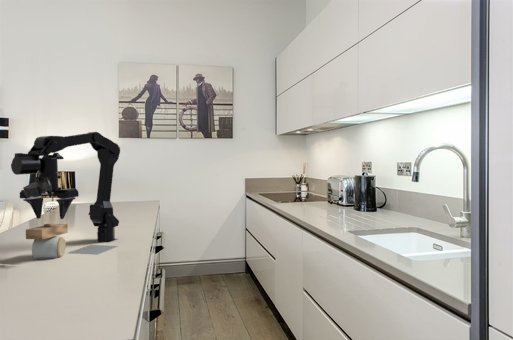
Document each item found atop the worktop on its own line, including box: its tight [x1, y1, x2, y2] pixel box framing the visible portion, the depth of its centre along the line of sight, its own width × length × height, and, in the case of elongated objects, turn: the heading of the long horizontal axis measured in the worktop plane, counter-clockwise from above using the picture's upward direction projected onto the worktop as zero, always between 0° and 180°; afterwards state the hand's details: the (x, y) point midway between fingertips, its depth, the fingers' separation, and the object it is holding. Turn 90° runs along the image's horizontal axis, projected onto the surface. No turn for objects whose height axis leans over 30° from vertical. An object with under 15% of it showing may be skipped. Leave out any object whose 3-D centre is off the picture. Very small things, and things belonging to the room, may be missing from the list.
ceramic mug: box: [31, 235, 67, 260], centre depth 119 cm, size 11×8×8 cm
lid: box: [25, 223, 68, 240], centre depth 117 cm, size 11×6×4 cm, turn 168°
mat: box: [67, 244, 119, 255], centre depth 126 cm, size 12×12×1 cm
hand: (50, 218), depth 121 cm, fingers open, 9 cm apart
